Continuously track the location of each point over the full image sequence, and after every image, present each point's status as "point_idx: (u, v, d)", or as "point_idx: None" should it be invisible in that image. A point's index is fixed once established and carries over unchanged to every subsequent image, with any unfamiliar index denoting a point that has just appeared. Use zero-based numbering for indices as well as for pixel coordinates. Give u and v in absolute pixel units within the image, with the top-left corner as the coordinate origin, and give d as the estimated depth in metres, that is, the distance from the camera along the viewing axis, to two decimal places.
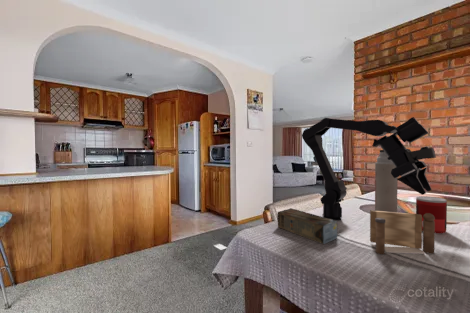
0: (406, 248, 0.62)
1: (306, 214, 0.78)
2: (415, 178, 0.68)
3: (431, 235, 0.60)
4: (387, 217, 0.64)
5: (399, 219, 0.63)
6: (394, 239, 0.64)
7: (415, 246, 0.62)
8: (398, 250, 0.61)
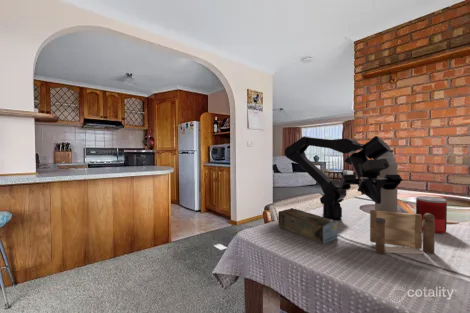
0: (406, 248, 0.62)
1: (307, 214, 0.78)
2: (368, 188, 0.74)
3: (431, 235, 0.60)
4: (387, 217, 0.64)
5: (399, 219, 0.63)
6: (394, 239, 0.64)
7: (415, 246, 0.62)
8: (398, 250, 0.61)
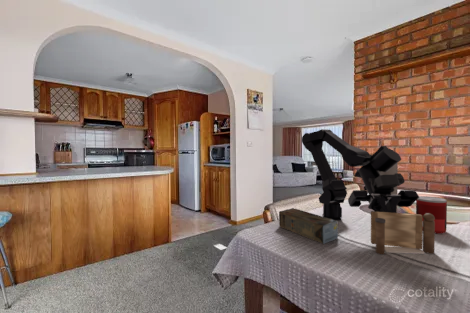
0: (406, 248, 0.62)
1: (307, 214, 0.78)
2: (381, 206, 0.67)
3: (431, 235, 0.60)
4: (388, 218, 0.63)
5: (400, 220, 0.63)
6: (395, 240, 0.63)
7: (416, 246, 0.61)
8: (398, 250, 0.61)
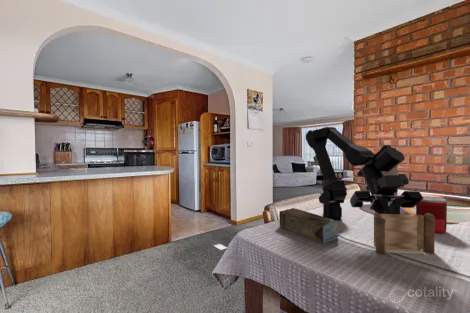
0: None
1: (307, 214, 0.78)
2: (383, 207, 0.65)
3: (431, 235, 0.60)
4: (392, 220, 0.62)
5: (403, 221, 0.61)
6: (398, 242, 0.62)
7: (417, 247, 0.61)
8: (398, 250, 0.61)
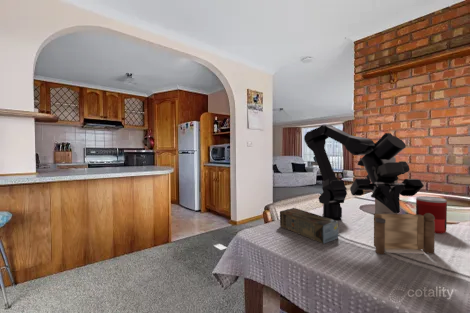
0: None
1: (308, 214, 0.78)
2: (384, 195, 0.65)
3: (431, 235, 0.60)
4: (392, 220, 0.62)
5: (403, 221, 0.61)
6: (398, 242, 0.62)
7: (417, 247, 0.61)
8: (398, 250, 0.61)
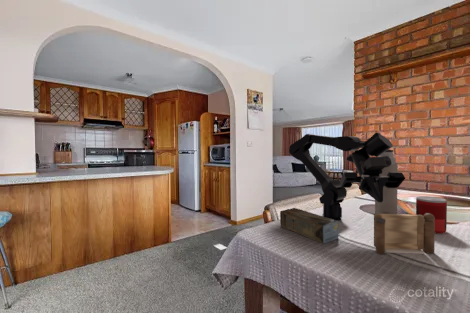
0: None
1: (308, 214, 0.78)
2: (370, 186, 0.73)
3: (431, 235, 0.60)
4: (392, 220, 0.62)
5: (403, 221, 0.61)
6: (398, 242, 0.62)
7: (417, 247, 0.61)
8: (398, 250, 0.61)
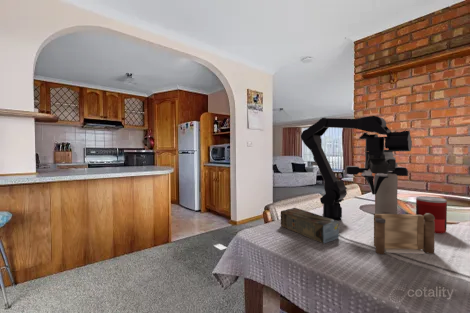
0: None
1: (308, 214, 0.78)
2: None
3: (431, 235, 0.60)
4: (392, 220, 0.62)
5: (403, 221, 0.61)
6: (398, 242, 0.62)
7: (417, 247, 0.61)
8: (398, 250, 0.61)
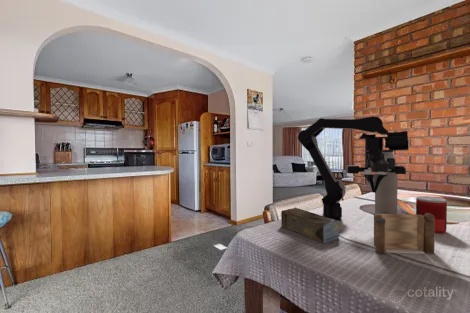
0: None
1: (309, 214, 0.78)
2: None
3: (431, 235, 0.60)
4: (392, 220, 0.62)
5: (403, 221, 0.61)
6: (398, 242, 0.62)
7: (417, 247, 0.61)
8: (398, 250, 0.61)
